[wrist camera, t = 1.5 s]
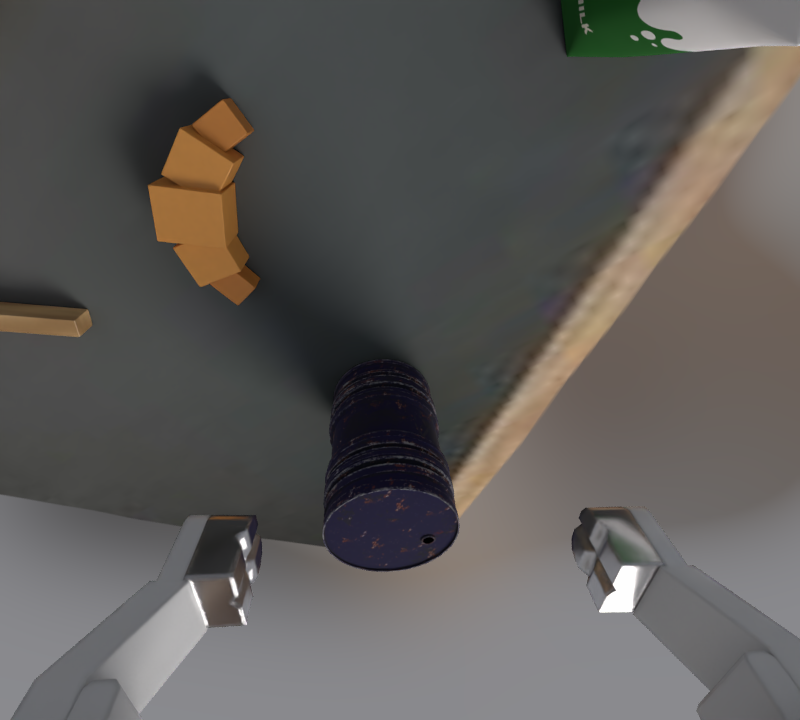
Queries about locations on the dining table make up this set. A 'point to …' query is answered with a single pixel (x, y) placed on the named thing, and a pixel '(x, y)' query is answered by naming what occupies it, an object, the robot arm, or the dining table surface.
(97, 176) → the dining table surface
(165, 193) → the orange block cluster
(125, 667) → the robot arm
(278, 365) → the dining table surface
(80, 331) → the oak frame
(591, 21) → the milk carton
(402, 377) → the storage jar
